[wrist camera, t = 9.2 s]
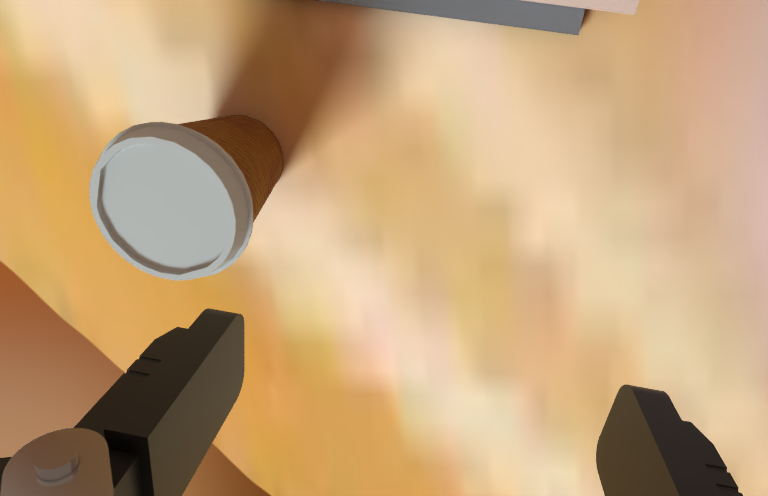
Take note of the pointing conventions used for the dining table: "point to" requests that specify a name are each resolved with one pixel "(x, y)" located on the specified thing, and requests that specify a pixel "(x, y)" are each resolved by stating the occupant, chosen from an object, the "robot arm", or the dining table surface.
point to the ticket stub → (597, 4)
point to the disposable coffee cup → (184, 193)
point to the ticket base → (488, 12)
